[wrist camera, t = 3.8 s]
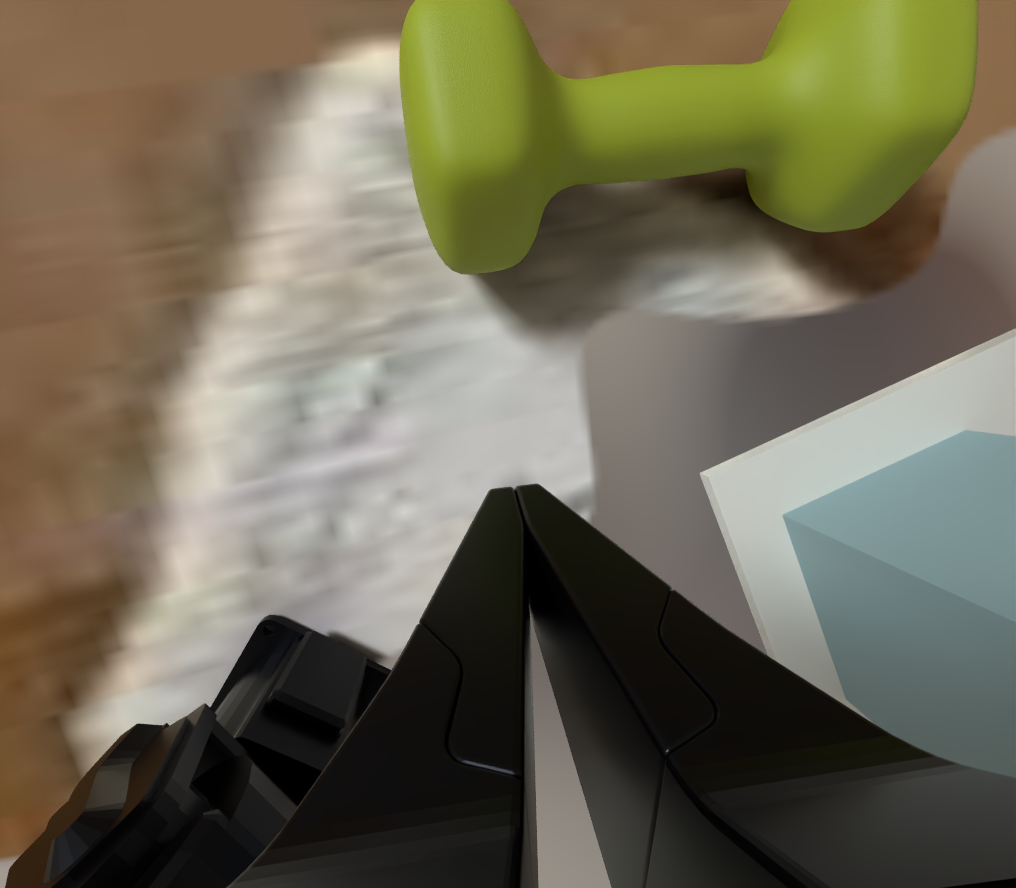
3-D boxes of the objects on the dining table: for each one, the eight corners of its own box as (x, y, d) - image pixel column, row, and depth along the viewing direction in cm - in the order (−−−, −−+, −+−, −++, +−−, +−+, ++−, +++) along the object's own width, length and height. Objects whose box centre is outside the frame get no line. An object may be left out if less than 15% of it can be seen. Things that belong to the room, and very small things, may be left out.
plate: (806, 757, 25) (817, 771, 24) (699, 473, 22) (708, 477, 21) (1096, 619, 25) (1117, 627, 24) (1029, 321, 22) (1050, 320, 21)
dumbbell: (817, 43, 20) (1019, -140, 12) (819, 252, 21) (1004, 194, 14) (402, 74, 18) (365, -110, 11) (432, 294, 20) (417, 254, 13)
